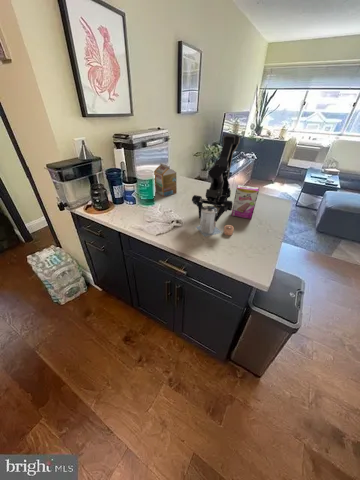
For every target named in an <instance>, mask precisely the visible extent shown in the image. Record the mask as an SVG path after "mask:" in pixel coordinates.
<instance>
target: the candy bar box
mask: <svg viewBox="0 0 360 480" xmlns="http://www.w3.org/2000/svg"><path fill="white" fill-rule="evenodd" d="M259 191H260V188H259V187H257V186H247V185H241V184H238V185H236V189H235V194H234V195H235V196H234V199H233V206H232V210H231V216H232V217H238V218H241V219H247V220H252V218H253V215H254V211H255V207H256V203H257V199H258V196H259Z"/></svg>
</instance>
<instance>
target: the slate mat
mask: <svg viewBox="0 0 360 480" xmlns="http://www.w3.org/2000/svg"><path fill="white" fill-rule="evenodd" d="M195 228H196V229H197V230H198V231H199V232H200V225H197V226H195ZM222 233H223V232H222V231H221V230H220V229H219V228H218V227H217V226H216V225H215V232H214V233H213V234H210V235H206V234H203V233H201V235H202V236H203V237H205V238H206V237H210V236H213V235H218V234H222Z"/></svg>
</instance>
